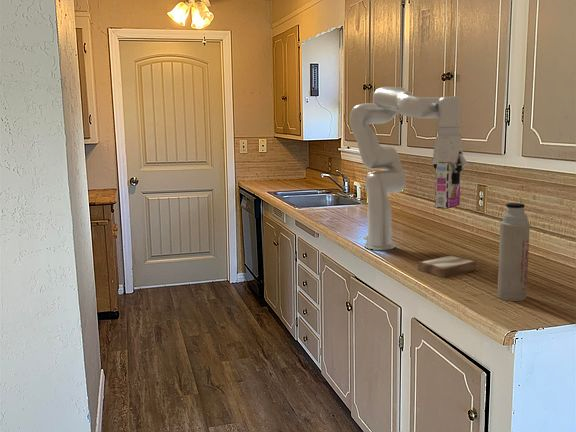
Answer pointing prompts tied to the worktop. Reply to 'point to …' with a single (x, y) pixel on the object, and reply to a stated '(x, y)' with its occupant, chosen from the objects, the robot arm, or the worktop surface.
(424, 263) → the base
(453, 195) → the candy bar box
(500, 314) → the worktop surface
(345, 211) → the worktop surface
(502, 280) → the thermos bottle
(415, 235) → the worktop surface
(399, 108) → the robot arm
